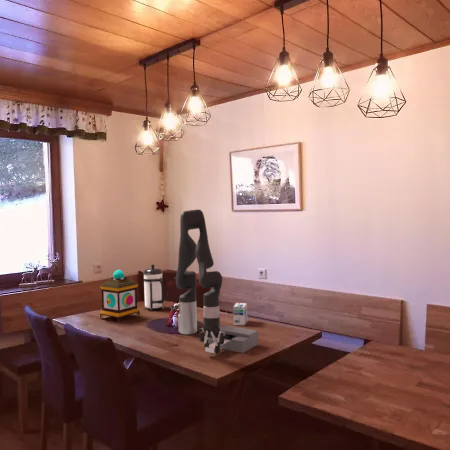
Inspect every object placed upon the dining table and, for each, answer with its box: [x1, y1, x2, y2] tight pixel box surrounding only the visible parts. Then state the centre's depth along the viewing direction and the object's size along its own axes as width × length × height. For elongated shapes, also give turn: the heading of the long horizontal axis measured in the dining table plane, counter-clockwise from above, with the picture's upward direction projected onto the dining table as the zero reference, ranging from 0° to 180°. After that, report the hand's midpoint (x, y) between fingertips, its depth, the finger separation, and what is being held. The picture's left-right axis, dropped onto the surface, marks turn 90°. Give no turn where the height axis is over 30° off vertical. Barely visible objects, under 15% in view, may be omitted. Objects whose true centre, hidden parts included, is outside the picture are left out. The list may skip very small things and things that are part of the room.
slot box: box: [208, 325, 259, 354], centre depth 216 cm, size 20×14×7 cm
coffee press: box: [142, 264, 166, 312], centre depth 295 cm, size 17×16×30 cm
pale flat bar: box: [204, 339, 231, 354], centre depth 205 cm, size 5×14×2 cm, turn 147°
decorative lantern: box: [99, 269, 140, 323], centre depth 274 cm, size 20×20×30 cm
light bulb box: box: [232, 302, 248, 326], centre depth 256 cm, size 11×7×11 cm, turn 168°
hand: (212, 352), depth 200 cm, fingers closed on pale flat bar, 5 cm apart
